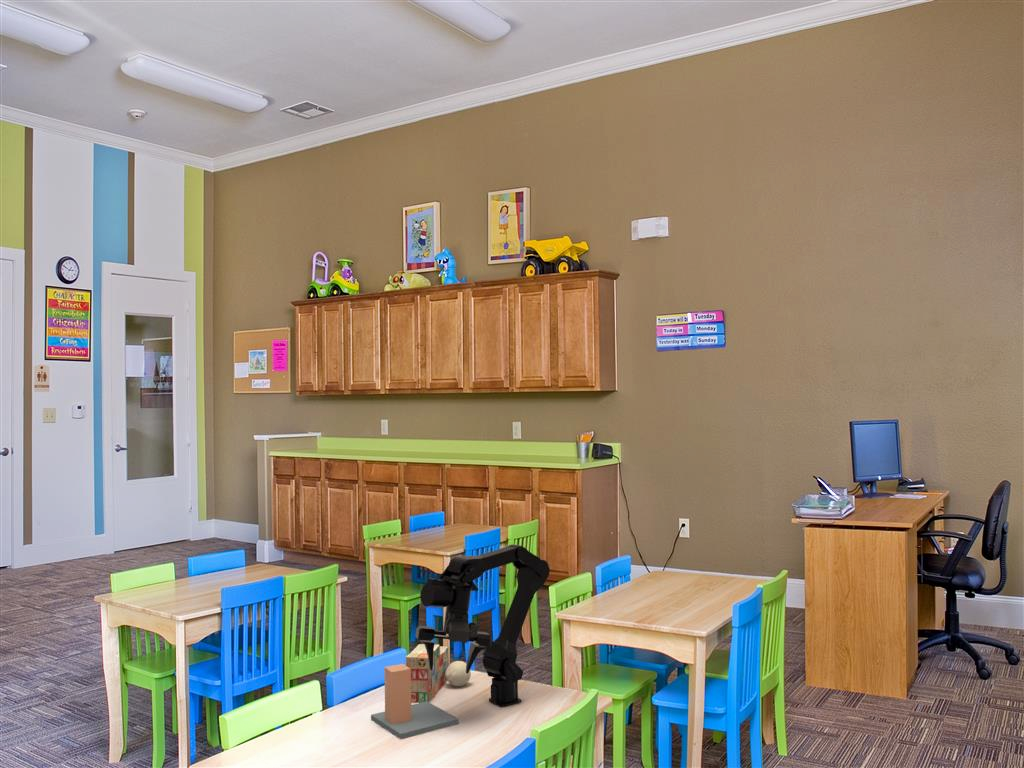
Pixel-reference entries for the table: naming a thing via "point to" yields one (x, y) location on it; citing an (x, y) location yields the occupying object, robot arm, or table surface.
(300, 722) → the table surface
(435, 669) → the stack of blocks
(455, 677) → the baseball
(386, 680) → the tall peach square pillar
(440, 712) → the slate board
